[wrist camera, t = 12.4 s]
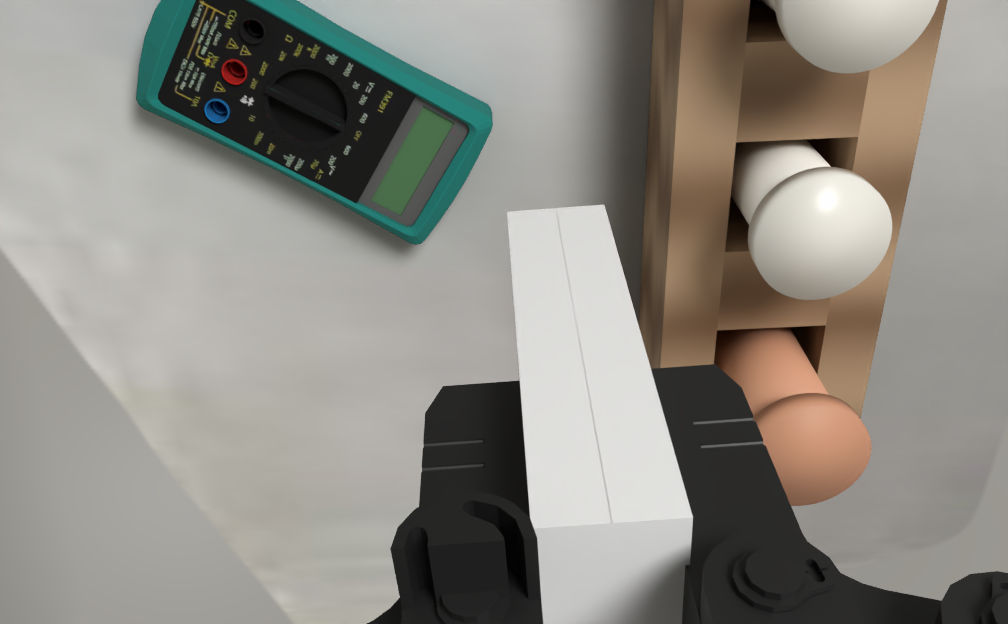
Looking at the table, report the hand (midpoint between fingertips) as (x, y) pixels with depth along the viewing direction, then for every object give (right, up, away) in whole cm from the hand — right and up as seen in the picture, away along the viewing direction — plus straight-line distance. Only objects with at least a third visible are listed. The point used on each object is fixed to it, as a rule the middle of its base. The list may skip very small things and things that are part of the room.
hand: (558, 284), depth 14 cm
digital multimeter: (-9, +10, +27) cm, 30 cm away
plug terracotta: (+11, -2, +30) cm, 33 cm away
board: (+11, +7, +29) cm, 32 cm away
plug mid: (+11, +7, +28) cm, 30 cm away
